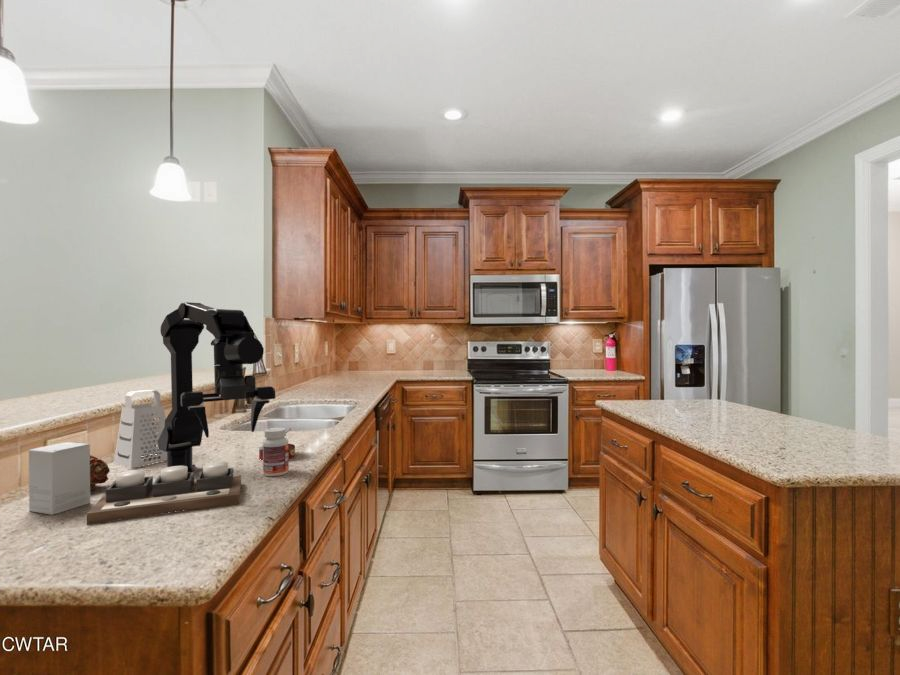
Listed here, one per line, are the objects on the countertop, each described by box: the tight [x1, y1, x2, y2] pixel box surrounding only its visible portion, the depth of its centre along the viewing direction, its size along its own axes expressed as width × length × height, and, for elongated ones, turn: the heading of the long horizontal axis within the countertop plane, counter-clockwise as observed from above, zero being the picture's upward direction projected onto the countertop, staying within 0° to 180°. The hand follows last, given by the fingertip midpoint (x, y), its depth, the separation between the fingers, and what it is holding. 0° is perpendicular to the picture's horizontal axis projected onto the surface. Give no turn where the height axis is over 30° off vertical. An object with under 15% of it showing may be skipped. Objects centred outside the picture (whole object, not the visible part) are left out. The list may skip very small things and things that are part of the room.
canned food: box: [258, 428, 296, 461], centre depth 133 cm, size 11×10×10 cm
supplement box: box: [28, 441, 91, 516], centre depth 95 cm, size 7×7×13 cm
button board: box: [86, 467, 242, 525], centre depth 97 cm, size 14×26×4 cm, turn 113°
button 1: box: [115, 469, 146, 488], centre depth 96 cm, size 5×5×2 cm
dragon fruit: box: [90, 454, 111, 491], centre depth 105 cm, size 8×8×12 cm
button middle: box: [160, 466, 188, 483], centre depth 99 cm, size 5×5×2 cm
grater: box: [113, 389, 170, 469], centre depth 129 cm, size 10×10×20 cm
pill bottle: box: [262, 427, 289, 477], centre depth 118 cm, size 6×6×11 cm
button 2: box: [202, 461, 229, 478], centre depth 102 cm, size 5×5×2 cm
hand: (230, 434), depth 102 cm, fingers open, 9 cm apart
